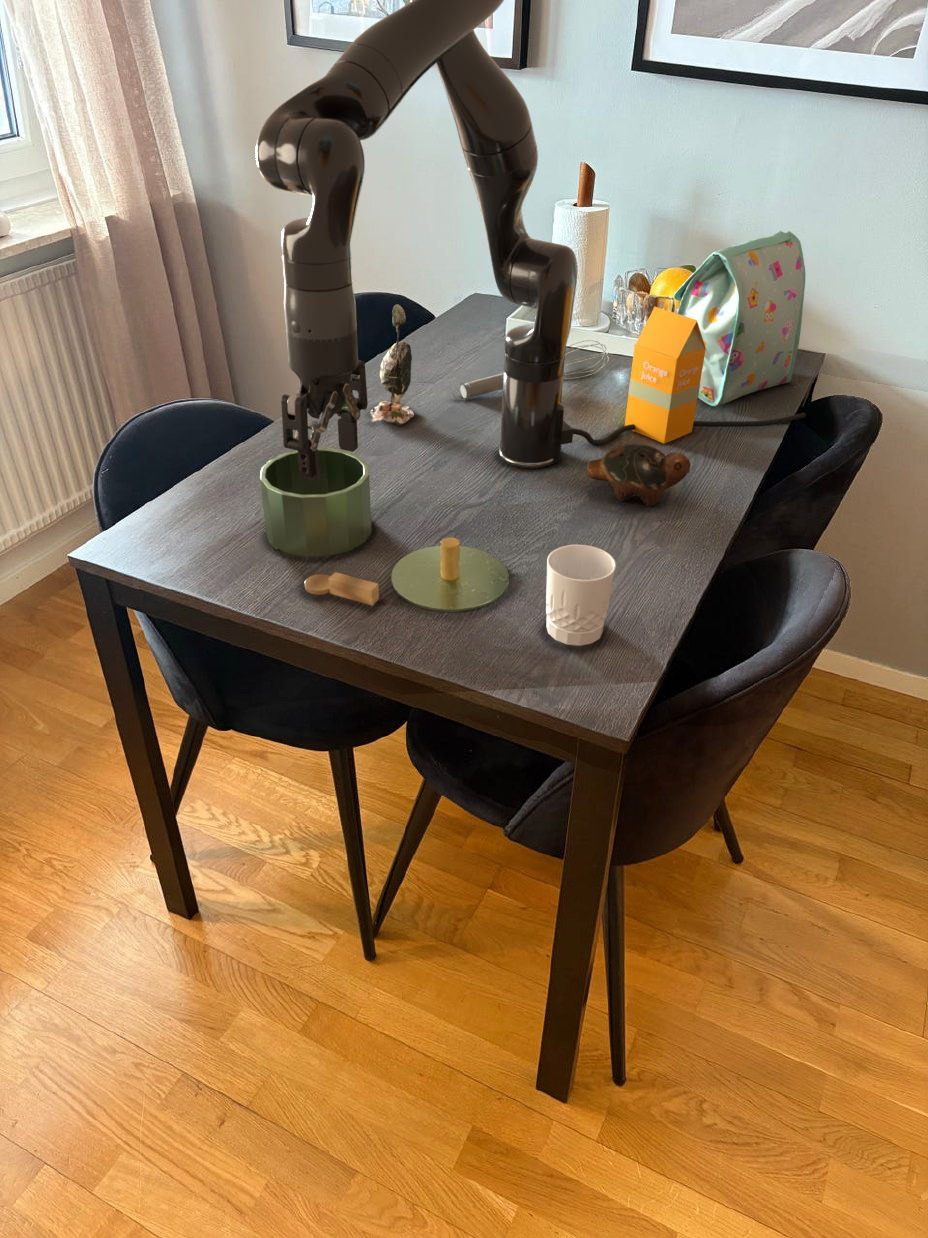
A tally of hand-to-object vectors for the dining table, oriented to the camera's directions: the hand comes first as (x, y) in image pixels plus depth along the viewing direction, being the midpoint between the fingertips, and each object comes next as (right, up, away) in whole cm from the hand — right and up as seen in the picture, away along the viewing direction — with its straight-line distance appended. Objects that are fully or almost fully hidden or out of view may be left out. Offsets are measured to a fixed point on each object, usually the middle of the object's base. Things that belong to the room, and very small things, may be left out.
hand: (330, 463), depth 111 cm
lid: (+14, -13, +12) cm, 23 cm away
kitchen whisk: (+29, +26, +68) cm, 78 cm away
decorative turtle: (+41, +1, +33) cm, 53 cm away
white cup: (+29, -20, +4) cm, 35 cm away
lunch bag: (+65, +26, +70) cm, 99 cm away
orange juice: (+49, +14, +53) cm, 74 cm away
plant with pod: (+3, +17, +56) cm, 59 cm away
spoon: (0, -15, +10) cm, 18 cm away
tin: (-5, -6, +22) cm, 24 cm away
